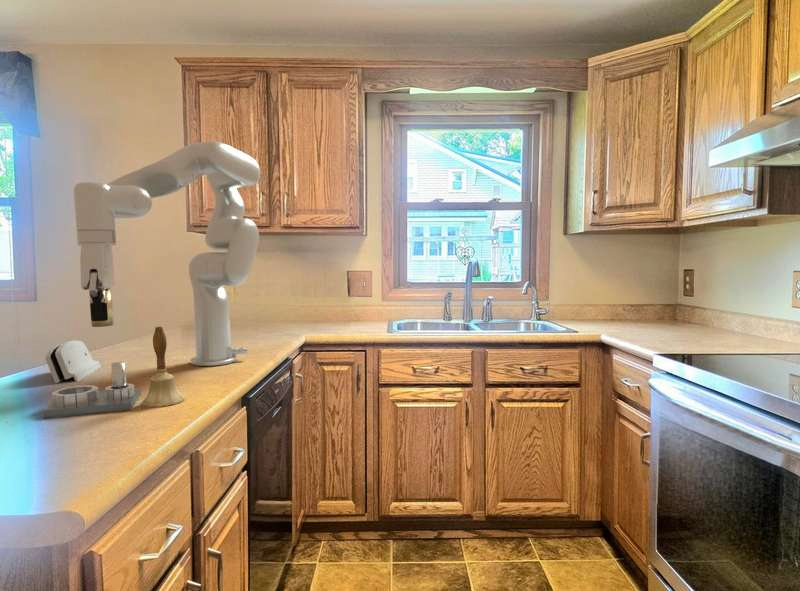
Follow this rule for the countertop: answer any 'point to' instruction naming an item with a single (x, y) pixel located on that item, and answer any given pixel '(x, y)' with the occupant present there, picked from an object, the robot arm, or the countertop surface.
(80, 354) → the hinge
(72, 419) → the countertop surface
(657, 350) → the countertop surface
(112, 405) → the plate
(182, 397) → the hand bell
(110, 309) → the brass nipple
